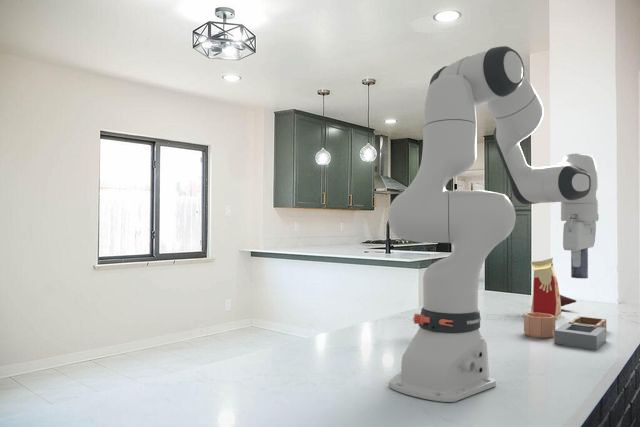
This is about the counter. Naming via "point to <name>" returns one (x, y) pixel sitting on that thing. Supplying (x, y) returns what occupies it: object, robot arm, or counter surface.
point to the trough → (589, 321)
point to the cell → (583, 269)
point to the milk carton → (545, 289)
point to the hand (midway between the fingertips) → (579, 265)
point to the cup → (539, 325)
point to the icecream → (566, 300)
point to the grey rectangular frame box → (580, 335)
